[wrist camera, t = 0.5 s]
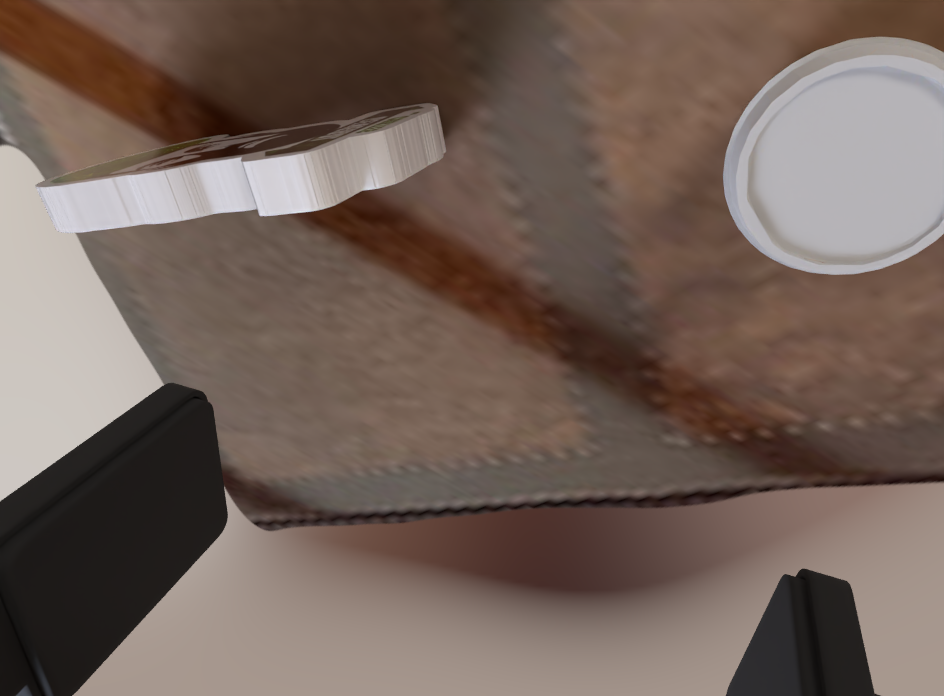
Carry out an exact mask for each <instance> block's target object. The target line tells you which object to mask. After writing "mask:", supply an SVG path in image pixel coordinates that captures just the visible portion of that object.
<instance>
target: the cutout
mask: <svg viewBox="0 0 944 696" xmlns="http://www.w3.org/2000/svg"><path fill="white" fill-rule="evenodd" d="M445 152H446V147H445V142H444V137H443V131H442V126H441V121H440V116H439V110H438V106H437V105H435V104H431V103H423V104H416V105H410V106H404V107H398V108H392V109H386V110H380V111H375V112H371V113H367V114H364V115H361V116H358V117H356V118H353V119H350V120H338V121H329V122H322V123H316V124H310V125H304V126H299V127H293V128H286V129H274V130H267V131H260V132H254V133H248V134H243V135H238V136H233V137H230V135H228V134H227V135H226V134H224V135H217V136H211V137H206V138H201V139H196V140H191V141H187V142H182V143H178V144H173V145H169V146H165V147H160V148H156V149H152V150H148V151H144V152H140V153H136V154H132V155H128V156H124V157H121V158H117V159H113V160H109V161H106V162H102V163H99V164H95V165H92V166H88V167H85V168H81V169H78V170H75V171H72V172H68V173H65V174H62V175H59V176H56V177H53V178H50V179H47V180H45V181H43V182H40V183H38V184H37V185H36V189H37V191H38V193H39V195H40V197H41V199H42V201H43V203H44V205H45V208H46V210H47V212H48V214H49V216H50V218H51V220H52V222H53V224H54V226H55V229H56V230H57V231H58V232H65V233H77V232H88V231H96V230H104V229H113V228H121V227H128V226H134V225H142V224H160V223H169V222H176V221H183V220H188V219H193V218H198V217H202V216H206V215H211V214H216V213H225V212H238V211H248V210H254V209H257V211H258V214H259V215H260V216H274V215H282V214H290V213H300V212H311V211H316V210H321V209H325V208H329V207H332V206H334V205H337V204H339V203H341V202H342V201H344V200H346V199H348V198H350V197H352V196H354V195H355V194H357V193H359V192H361V191H363V190H371V189H377V188H383V187H387V186H390V185H394V184H397V183H399V182H401V181H403V180H405V179H406V178H408V177H410V176H412V175H414V174H415V173H417V172H419V171H420V170H422V169H424V168H426V167H427V166H428V165H430V164H433V163H435V162H437V161H439V160H441V159H442V158H443V157H444V155H443V153H445Z"/></svg>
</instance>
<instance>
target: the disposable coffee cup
mask: <svg viewBox="0 0 944 696" xmlns="http://www.w3.org/2000/svg"><path fill="white" fill-rule="evenodd" d="M723 181H724V191H725V198H726V201H727V204H728V207H729V210H730V213H731V215H732V217H733V219H734V221H735V223H736V225H737V227H738V228H739V230H740V231H741V232H742V233H743V235H744V236H745V237H746V238H747V239H748V241H749V242H750V243H751V244H752V245H753V246H755V247H756V248H757V249H758V250H759V251H760V252H762V253H763V254H765V255H767V256H768V257H770V258H771V259H773V260H775V261H777V262H779V263H782V264H784V265H786V266H788V267H791V268H795V269H799V270H803V271H807V272H811V273H823V274H831V275H835V274H857V273H862V272H867V271H873V270H878V269H882V268H884V267H887V266H890V265H892V264H895V263H898V262H901V261H903V260H905V259H907V258H909V257H911V256H913V255H915V254H917V253H918V252H920V251H921V250H923V249H924V248H925V247H927V246H928V245H930V244H931V243H933V242H934V241H936V240H937V239H938V238H939V237H940V236H941V235H942V234H944V52H942V51H940V50H938V49H936V48H933V47H931V46H929V45H927V44H924V43H920V42H916V41H912V40H908V39H904V38H893V37H870V38H859V39H851V40H848V41H844V42H841V43H838V44H835V45H832V46H829V47H825V48H822V49H819V50H816V51H814V52H812V53H811V54H809V55H807V56H805V57H803V58H801V59H799V60H797V61H795V62H794V63H792V64H791V65H789V66H788V67H787V68H785V69H784V70H782V71H781V72H780V73H778V74H777V75H775V76H774V77H773V78H772V79H771V80H770V81H769V82H768V83H767V84H766V85H765V86H764V87H763V88H762V89H761V90H760V91H759V92H758V93H757V94H756V95H755V97H754V98H753V99H752V100H751V102H750V103H749V104H748V106H747V107H746V109H745V110H744V112H743V114H742V116H741V117H740V119H739V121H738V122H737V124H736V126H735V128H734V130H733V133H732V136H731V139H730V142H729V145H728V148H727V151H726V155H725V163H724V172H723Z"/></svg>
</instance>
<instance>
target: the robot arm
mask: <svg viewBox="0 0 944 696" xmlns="http://www.w3.org/2000/svg"><path fill="white" fill-rule="evenodd" d="M227 518H228V514H227V506H226V498H225V491H224V484H223V476H222V469H221V462H220V455H219V447H218V440H217V433H216V425H215V418H214V411H213V407H212V405H211V404H210V403H209V402H208V400H207V397H206V395H205V394H204V393H203V392H202V391H199V390H196V389H192V388H189V387H186V386H182V385H179V384H175V383H168V384H166V385H164V386H162V387H161V388H159V389H158V390H156V391H155V392H153V393H152V394H151V395H149V396H148V397H146V398H145V399H144V400H142V401H141V402H140V403H138V404H137V405H135V406H134V407H132V408H131V409H130V410H128V411H127V412H125V413H124V414H123V415H121V416H120V417H118V418H117V419H115V420H114V421H113V422H111V423H110V424H108V425H107V426H106V427H104V428H103V429H101V430H100V431H99V432H97V433H96V434H94V435H93V436H92V437H90V438H89V439H87V440H86V441H85V442H83V443H82V444H80V445H79V446H77V447H76V448H75V449H73V450H72V451H70V452H69V453H68V454H66V455H65V456H63V457H62V458H61V459H59V460H58V461H56V462H55V463H54V464H52V465H51V466H49V467H48V468H47V469H45V470H44V471H42V472H41V473H40V474H38V475H37V476H35V477H34V478H32V479H31V480H30V481H28V482H27V483H26V484H24V485H23V486H21V487H20V488H18V489H17V490H16V491H14V492H13V493H11V494H10V495H9V496H7V497H6V498H4V499H3V500H2V501H1V502H0V696H72V695H73V694H74V693H76V692H77V691H78V689H79V688H80V687H81V686H82V685H83V684H84V683H85V682H86V681H87V680H88V679H89V677H90V676H91V675H92V674H93V673H94V672H95V671H96V670H97V669H98V668H99V666H101V664H102V663H103V662H104V661H105V660H106V659H107V658H108V657H109V656H110V654H112V652H113V651H114V650H115V649H116V648H117V647H118V646H119V645H120V644H121V643H122V642H123V640H124V639H125V638H126V637H127V636H128V635H129V634H130V633H131V632H132V631H133V630H134V628H135V627H136V626H137V625H138V624H139V623H140V622H141V621H142V620H143V618H145V616H146V615H147V614H148V613H149V612H150V611H151V610H152V609H153V608H154V606H156V604H157V603H158V602H159V601H160V600H161V599H162V598H163V597H164V596H165V595H166V593H167V592H168V591H169V590H170V589H171V588H172V587H173V586H174V585H175V584H176V583H177V582H178V580H179V579H180V578H181V577H182V576H183V575H184V574H185V573H186V572H187V571H188V570H189V568H190V567H191V566H192V565H193V564H194V563H195V562H196V561H197V560H198V559H199V558H200V556H201V555H202V554H203V553H204V552H205V551H206V550H207V549H208V548H209V547H210V545H211V544H212V543H213V542H214V541H215V540H216V539H217V538H218V537H219V536H220V534H221V533H222V531H223V530H224V528H225V525H226V523H227ZM726 696H880V695H877V694H874V689H873V685H872V680H871V675H870V672H869V666H868V662H867V657H866V652H865V648H864V643H863V639H862V634H861V629H860V625H859V621H858V616H857V611H856V607H855V602H854V597H853V593H852V589H851V586H850V584H849V583H848V582H847V581H845V580H841V579H837V578H834V577H831V576H828V575H824V574H821V573H817V572H814V571H810V570H807V569H801V570H800V571H799V572H798V574H797V575H796V577H794V576H790V575H787V574H785V575H783V576H782V578H781V579H780V581H779V583H778V585H777V588H776V590H775V592H774V594H773V596H772V598H771V600H770V602H769V604H768V606H767V608H766V611H765V612H764V614H763V617H762V619H761V621H760V623H759V625H758V627H757V629H756V631H755V633H754V635H753V637H752V640H751V641H750V643H749V646H748V648H747V650H746V652H745V654H744V656H743V658H742V660H741V662H740V664H739V666H738V668H737V670H736V672H735V675H734V677H733V679H732V681H731V683H730V685H729V687H728V690H727V694H726Z"/></svg>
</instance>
